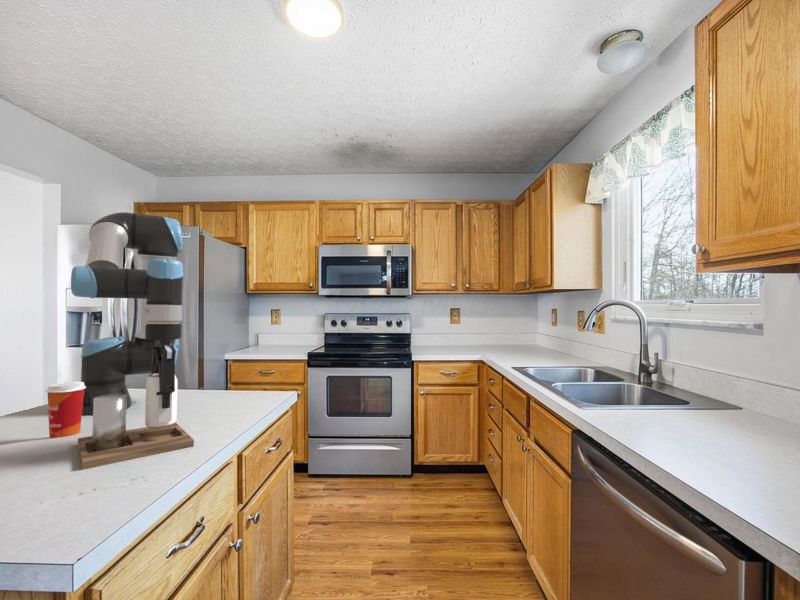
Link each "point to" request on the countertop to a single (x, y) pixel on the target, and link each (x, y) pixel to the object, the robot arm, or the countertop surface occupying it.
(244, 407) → the countertop surface
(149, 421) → the can
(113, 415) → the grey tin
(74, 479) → the countertop surface
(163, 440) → the tray
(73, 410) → the paper cup
